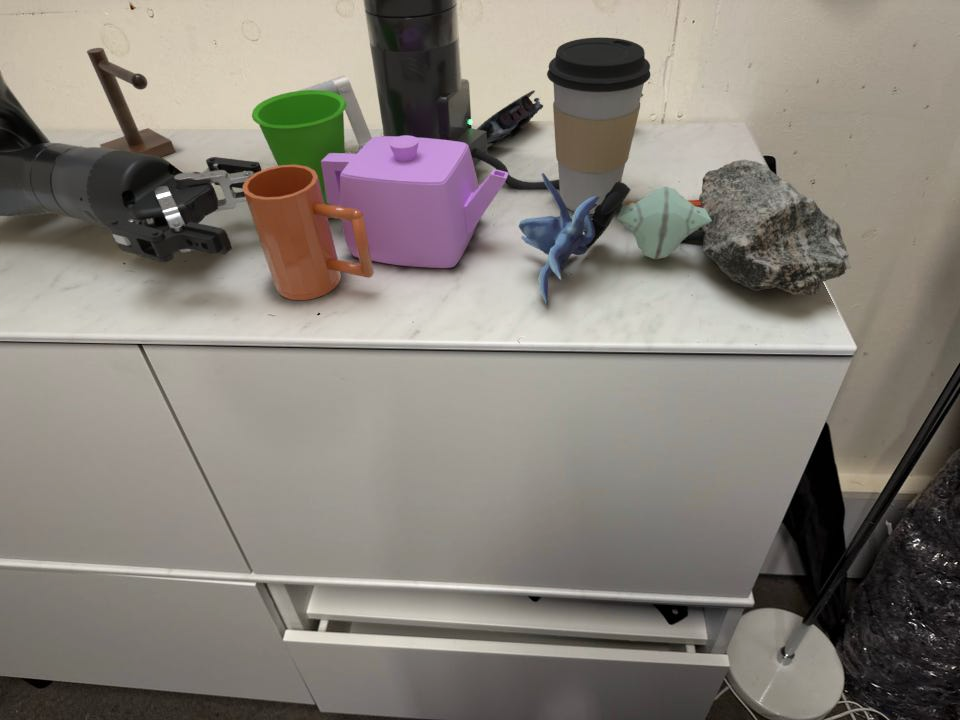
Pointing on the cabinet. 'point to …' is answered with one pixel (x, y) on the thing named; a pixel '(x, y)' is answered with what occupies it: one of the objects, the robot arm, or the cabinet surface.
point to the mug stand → (126, 109)
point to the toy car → (510, 119)
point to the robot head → (662, 221)
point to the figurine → (569, 230)
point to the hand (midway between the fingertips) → (258, 217)
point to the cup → (303, 128)
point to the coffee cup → (595, 113)
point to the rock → (768, 231)
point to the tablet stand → (348, 106)
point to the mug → (301, 232)
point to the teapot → (411, 198)
